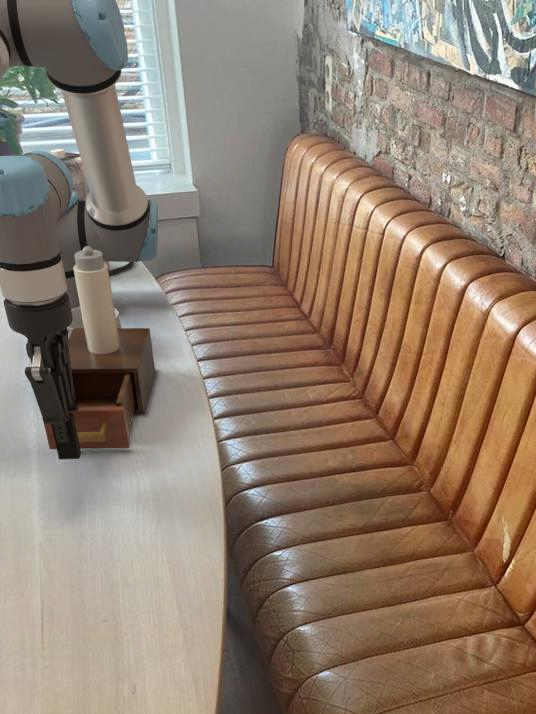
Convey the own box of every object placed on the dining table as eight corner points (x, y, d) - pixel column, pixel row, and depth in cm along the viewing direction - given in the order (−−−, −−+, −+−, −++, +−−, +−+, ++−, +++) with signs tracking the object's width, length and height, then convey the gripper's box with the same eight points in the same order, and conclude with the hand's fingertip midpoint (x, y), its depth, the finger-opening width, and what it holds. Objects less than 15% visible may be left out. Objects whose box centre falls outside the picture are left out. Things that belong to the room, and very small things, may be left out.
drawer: (125, 463, 116) (118, 425, 112) (42, 465, 115) (33, 426, 111) (141, 401, 131) (136, 365, 127) (69, 402, 130) (62, 366, 126)
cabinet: (144, 414, 129) (137, 368, 124) (63, 415, 128) (53, 369, 123) (155, 371, 142) (149, 327, 137) (81, 371, 141) (73, 328, 136)
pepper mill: (91, 340, 132) (73, 240, 122) (122, 340, 132) (107, 241, 122) (85, 354, 128) (66, 251, 118) (117, 354, 128) (101, 252, 118)
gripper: (17, 275, 99) (53, 432, 113) (-13, 316, 88) (30, 483, 102) (78, 275, 100) (105, 431, 113) (55, 316, 89) (88, 482, 103)
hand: (70, 456), depth 108 cm, fingers closed
